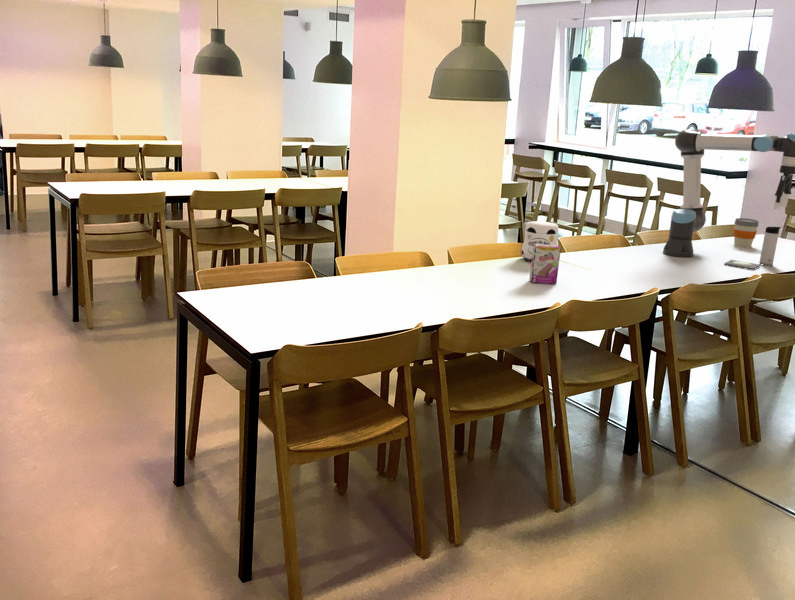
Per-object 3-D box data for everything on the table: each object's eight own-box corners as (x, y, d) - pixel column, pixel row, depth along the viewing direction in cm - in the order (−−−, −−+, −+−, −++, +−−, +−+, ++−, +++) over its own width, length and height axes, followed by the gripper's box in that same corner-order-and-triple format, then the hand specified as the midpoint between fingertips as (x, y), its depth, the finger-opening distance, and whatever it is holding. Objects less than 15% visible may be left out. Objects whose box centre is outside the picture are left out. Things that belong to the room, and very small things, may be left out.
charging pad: (724, 265, 386) (724, 262, 386) (731, 261, 395) (731, 259, 395) (753, 270, 378) (753, 267, 377) (760, 266, 387) (760, 264, 386)
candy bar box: (531, 283, 328) (535, 246, 323) (528, 280, 332) (532, 243, 328) (557, 284, 328) (561, 247, 324) (554, 281, 333) (558, 244, 328)
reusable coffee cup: (725, 243, 444) (730, 218, 440) (743, 243, 448) (748, 218, 444) (741, 248, 433) (745, 222, 429) (759, 248, 437) (764, 222, 432)
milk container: (532, 265, 362) (536, 227, 357) (514, 257, 378) (517, 221, 373) (563, 263, 369) (567, 227, 364) (544, 256, 384) (548, 220, 379)
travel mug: (771, 266, 388) (779, 227, 382) (757, 264, 392) (765, 225, 386) (774, 264, 393) (781, 226, 387) (760, 262, 396) (767, 224, 391)
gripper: (791, 167, 366) (781, 211, 372) (803, 165, 385) (793, 207, 391) (774, 165, 370) (765, 208, 376) (787, 163, 389) (778, 204, 395)
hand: (780, 208), depth 383 cm, fingers open, 13 cm apart
